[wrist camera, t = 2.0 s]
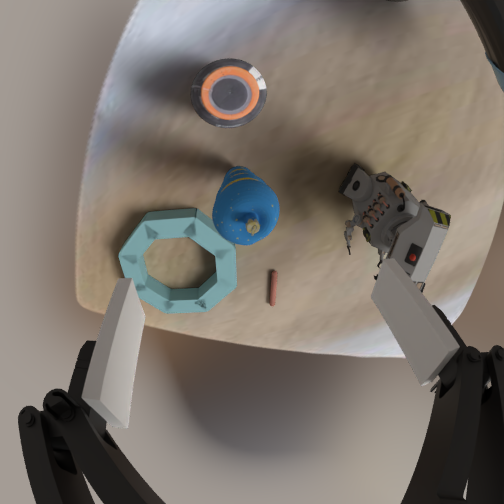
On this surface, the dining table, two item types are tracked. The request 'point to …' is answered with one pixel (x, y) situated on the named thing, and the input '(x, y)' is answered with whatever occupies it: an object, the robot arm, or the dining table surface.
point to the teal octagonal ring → (175, 227)
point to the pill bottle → (228, 93)
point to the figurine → (395, 222)
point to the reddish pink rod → (273, 288)
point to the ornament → (244, 207)
